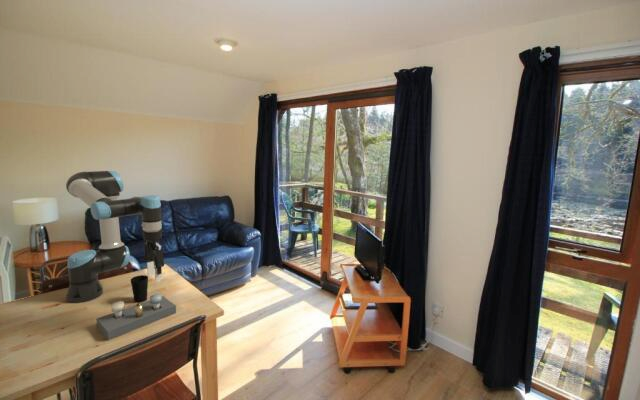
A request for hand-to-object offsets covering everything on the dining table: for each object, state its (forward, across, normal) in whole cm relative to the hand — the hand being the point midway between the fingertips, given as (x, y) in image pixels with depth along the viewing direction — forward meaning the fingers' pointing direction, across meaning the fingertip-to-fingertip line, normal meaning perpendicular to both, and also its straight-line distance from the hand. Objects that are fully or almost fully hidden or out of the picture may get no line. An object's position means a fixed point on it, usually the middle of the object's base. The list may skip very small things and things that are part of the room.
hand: (154, 277), depth 139 cm
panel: (+19, -2, -7) cm, 20 cm away
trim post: (+15, +2, -8) cm, 17 cm away
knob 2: (+16, 0, 0) cm, 16 cm away
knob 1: (+16, -5, -14) cm, 22 cm away
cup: (+19, -20, +1) cm, 28 cm away
